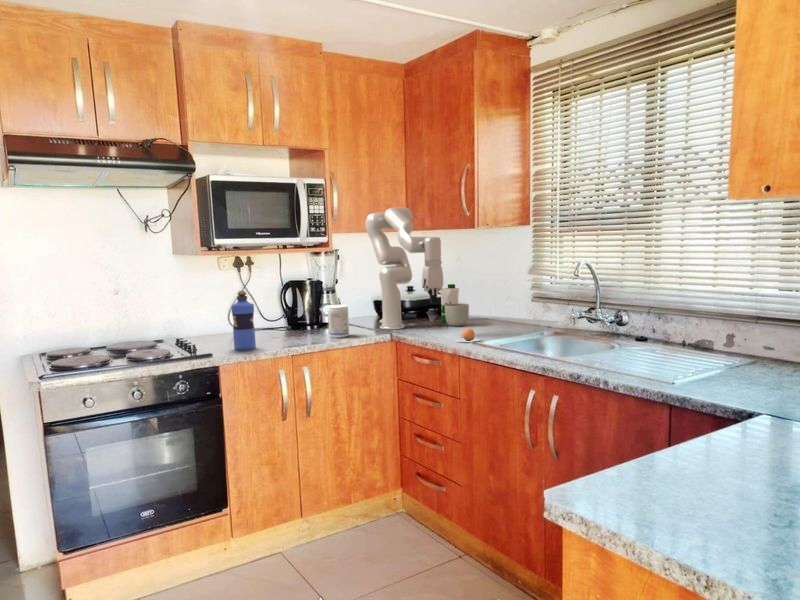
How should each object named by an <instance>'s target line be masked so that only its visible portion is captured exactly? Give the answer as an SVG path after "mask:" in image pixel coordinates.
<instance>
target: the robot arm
mask: <svg viewBox="0 0 800 600" xmlns="http://www.w3.org/2000/svg"><path fill="white" fill-rule="evenodd" d="M413 218H414V216H413V212H412V210H411V209H409V207H401V206H400V207H398V206H397V207H394V206H393V207H390V208H387V209H386V210H385V212H383V211H382V212H380V211H379V212H378V211H377V212H373V213H370V214H368V215H367V217H366V219H365V230H366V234H367V236H368V237H369V239H370V242H371V244H372V247H373V251H374V253H375V257H376V260H377V263H378V264H379V265H381V266H385V267H383V268H381V270H380V271H379V273H378V277H379V282H380V287H381V304H382V305H381V306H382V310H381V311H382V318H381V319H380V320H379V323H380V324H381V325H379V329H381V330H400V329H404V328H405V324H402V307H401V306H402V305H401V304H402V301H401V300H402V299H401V298H402V297H401V291H400V288H399V287H398V285H405V284H406V285H407V284H409V283H411V280H412V279H413V273H412V269H411V265H410V262H409V261H410V260H409V259H408V255H407V253H410V254H424V267H423V269H422V275H421V288H423V291H424V292H425V293H427V294H428V295H429V303H430V304H434V305H436V304H438V295H439V292H440V290H442V288H444V273H443V272H444V271H443V267H442V263H443V262H442V244H441V243H442V241H441V238H440V237H438V236H411V233H412V231H413V230H414V224H413ZM382 230H395V232H397V240H398V242H399V246H393V245H391V244H390V241H389V238H388V236H387V235H386V233H384V232H383V231H382ZM406 251H407V253H406Z"/></svg>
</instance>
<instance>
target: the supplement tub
mask: <svg viewBox="0 0 800 600" xmlns="http://www.w3.org/2000/svg"><path fill="white" fill-rule="evenodd" d="M327 316H328V317H327V318H328V336H329V337H330V338H332V339H334V338H335V339H340V338H341V339H342V338H346V337H348V336H349V335H350V330H349V329H350V326H349V306H348V305H347V304H333V305H328V307H327Z"/></svg>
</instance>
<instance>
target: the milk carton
mask: <svg viewBox="0 0 800 600" xmlns="http://www.w3.org/2000/svg"><path fill="white" fill-rule="evenodd" d="M459 291H460V288H459V287H458V288H457V287H456V284H454V283H451V284H450V283H449V284H447V287H442V290H440V291H439V292H440V297H441V298H440V301H441V302H440V303H441V307H440V309H441V315H440V317H441V318H440V322H441V321H446V316H445V305H446V304H453V303H459Z"/></svg>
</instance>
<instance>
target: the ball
mask: <svg viewBox="0 0 800 600" xmlns="http://www.w3.org/2000/svg"><path fill="white" fill-rule="evenodd" d="M461 336H462V337H461V338H464V339H465V340H466V341H471V340H473V339H474V338H476V333H475V331H474V330H473V329H471V328H465V329H464V330H462V333H461Z"/></svg>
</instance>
